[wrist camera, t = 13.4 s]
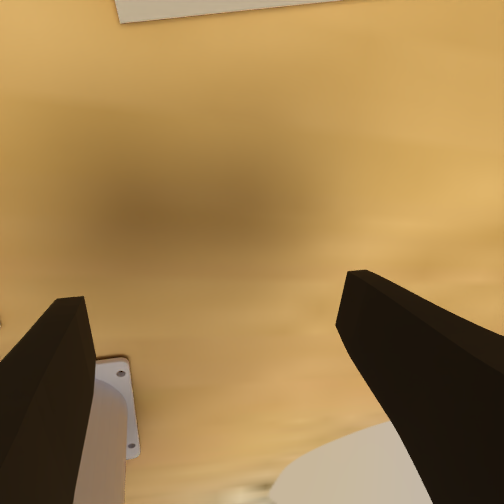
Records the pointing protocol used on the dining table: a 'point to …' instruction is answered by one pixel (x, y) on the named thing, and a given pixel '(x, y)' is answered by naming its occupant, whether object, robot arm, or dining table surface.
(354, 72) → the dining table surface
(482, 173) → the dining table surface
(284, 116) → the dining table surface
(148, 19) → the baseboard molding
